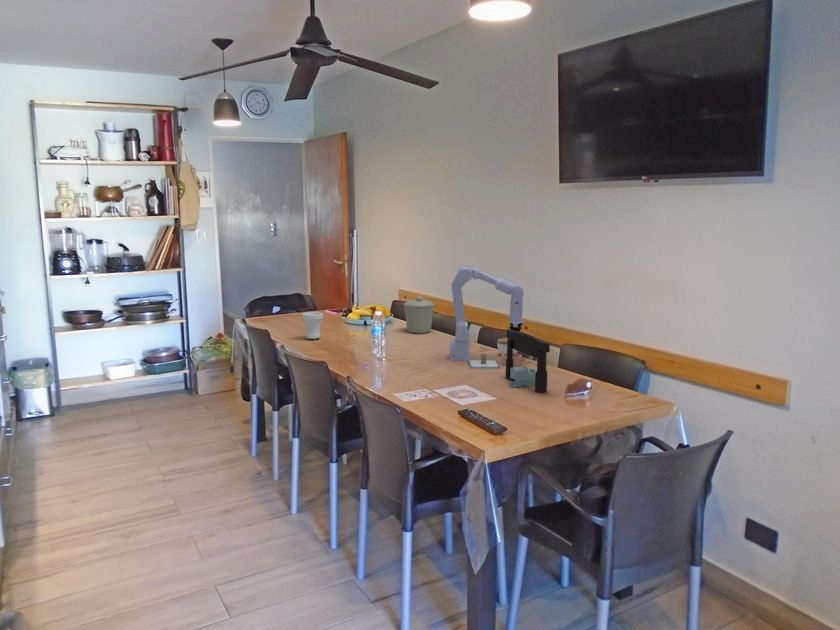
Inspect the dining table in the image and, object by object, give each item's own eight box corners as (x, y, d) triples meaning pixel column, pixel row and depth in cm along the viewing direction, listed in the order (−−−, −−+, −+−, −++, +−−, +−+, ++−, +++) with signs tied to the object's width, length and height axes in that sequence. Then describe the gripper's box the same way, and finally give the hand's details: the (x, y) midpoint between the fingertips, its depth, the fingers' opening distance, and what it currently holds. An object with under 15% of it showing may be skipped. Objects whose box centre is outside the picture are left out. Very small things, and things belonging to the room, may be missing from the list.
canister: (441, 331, 381) (441, 295, 378) (419, 336, 368) (419, 299, 365) (418, 327, 393) (418, 292, 390) (396, 332, 380) (396, 295, 377)
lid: (471, 367, 296) (471, 356, 295) (469, 361, 308) (469, 350, 307) (498, 367, 296) (498, 356, 295) (495, 361, 308) (495, 350, 307)
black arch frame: (522, 325, 285) (566, 340, 255) (521, 373, 289) (564, 393, 258) (490, 328, 279) (531, 343, 249) (489, 376, 283) (530, 397, 253)
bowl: (503, 367, 299) (503, 357, 298) (500, 362, 308) (500, 353, 307) (522, 367, 299) (523, 357, 298) (519, 362, 308) (519, 353, 307)
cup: (306, 336, 367) (305, 311, 364) (326, 337, 365) (325, 312, 363) (300, 340, 356) (299, 315, 353) (320, 341, 354) (319, 315, 352)
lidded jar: (518, 358, 316) (518, 339, 314) (495, 357, 318) (496, 338, 316) (519, 353, 326) (520, 335, 324) (497, 352, 328) (498, 334, 327)
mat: (469, 369, 295) (469, 368, 295) (467, 361, 309) (467, 361, 309) (500, 369, 295) (500, 368, 295) (496, 361, 309) (496, 361, 309)
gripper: (524, 313, 302) (523, 342, 304) (525, 308, 316) (524, 336, 318) (509, 313, 303) (508, 342, 305) (510, 308, 317) (509, 336, 319)
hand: (515, 339), depth 312 cm, fingers open, 7 cm apart
